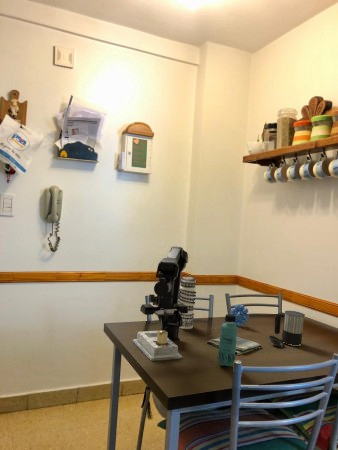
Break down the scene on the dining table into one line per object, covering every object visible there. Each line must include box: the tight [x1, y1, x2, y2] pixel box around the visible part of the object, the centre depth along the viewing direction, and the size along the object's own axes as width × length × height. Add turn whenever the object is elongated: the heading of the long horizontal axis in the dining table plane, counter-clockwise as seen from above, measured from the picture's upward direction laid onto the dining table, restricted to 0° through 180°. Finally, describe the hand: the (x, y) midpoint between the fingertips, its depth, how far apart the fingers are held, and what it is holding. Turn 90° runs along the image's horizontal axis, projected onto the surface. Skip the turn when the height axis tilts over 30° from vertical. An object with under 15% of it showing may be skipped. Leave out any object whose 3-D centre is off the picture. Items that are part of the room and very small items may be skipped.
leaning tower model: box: [178, 276, 197, 330], centre depth 194 cm, size 9×9×25 cm
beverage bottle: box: [217, 313, 239, 367], centre depth 146 cm, size 6×7×20 cm
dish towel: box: [206, 336, 262, 356], centre depth 172 cm, size 19×18×3 cm
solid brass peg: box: [157, 329, 168, 346], centre depth 154 cm, size 4×4×8 cm
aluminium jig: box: [132, 330, 183, 362], centre depth 158 cm, size 13×22×4 cm, turn 24°
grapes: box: [230, 304, 250, 327], centre depth 204 cm, size 12×7×12 cm, turn 42°
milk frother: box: [268, 310, 306, 348], centre depth 179 cm, size 14×16×15 cm
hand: (162, 330), depth 153 cm, fingers closed
